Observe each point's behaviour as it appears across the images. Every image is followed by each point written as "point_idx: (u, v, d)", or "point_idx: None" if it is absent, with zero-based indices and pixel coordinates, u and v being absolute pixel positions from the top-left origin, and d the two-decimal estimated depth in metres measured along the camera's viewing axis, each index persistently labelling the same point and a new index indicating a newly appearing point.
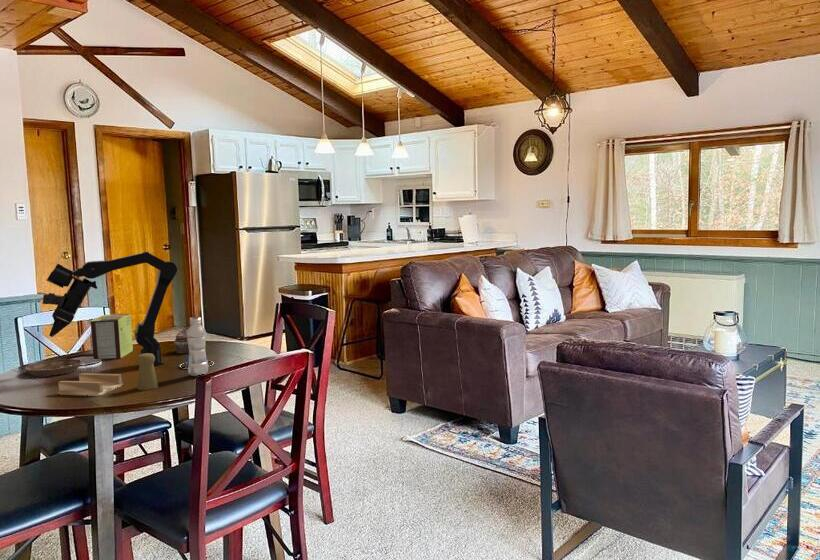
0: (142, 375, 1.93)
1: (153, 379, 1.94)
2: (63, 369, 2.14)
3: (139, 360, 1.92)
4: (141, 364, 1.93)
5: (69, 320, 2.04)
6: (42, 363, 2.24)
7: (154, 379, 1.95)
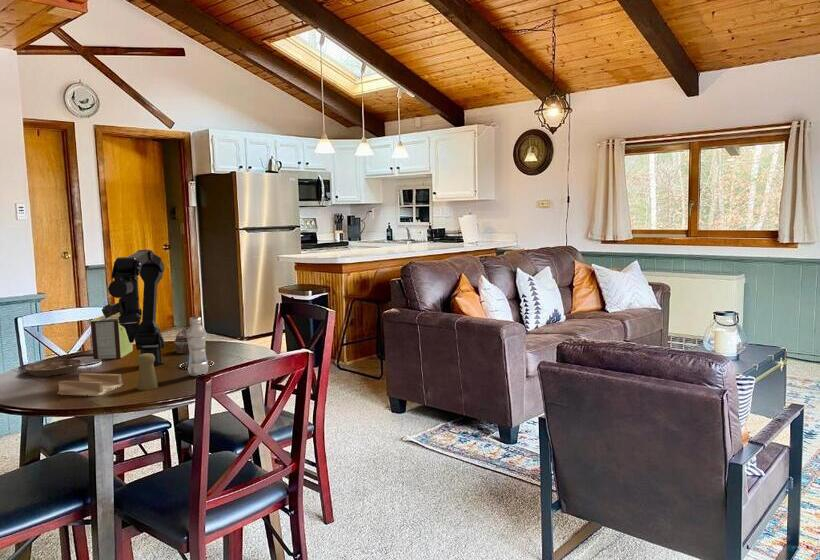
0: (142, 375, 1.93)
1: (153, 379, 1.94)
2: (63, 369, 2.14)
3: (139, 360, 1.92)
4: (141, 364, 1.93)
5: (137, 320, 1.98)
6: (42, 363, 2.24)
7: (154, 379, 1.95)
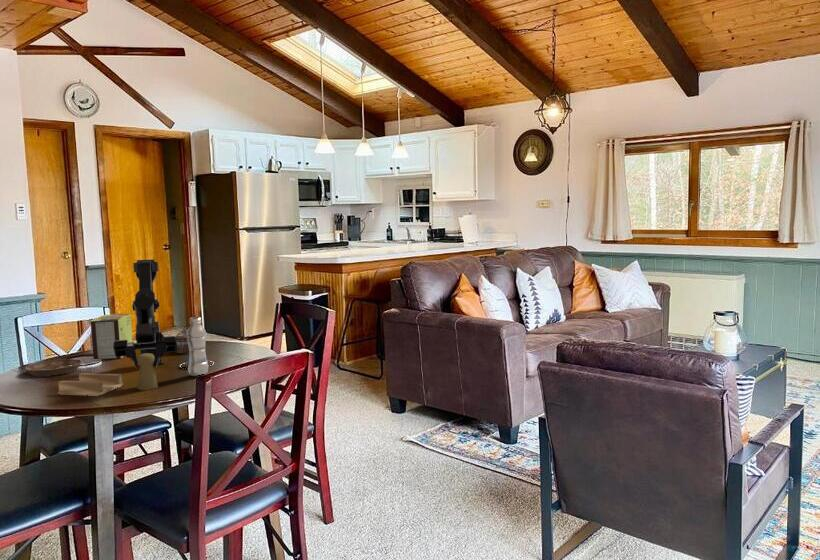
0: (142, 375, 1.93)
1: (153, 379, 1.94)
2: (63, 369, 2.14)
3: (139, 360, 1.92)
4: (141, 364, 1.93)
5: None
6: (42, 363, 2.24)
7: (154, 379, 1.95)
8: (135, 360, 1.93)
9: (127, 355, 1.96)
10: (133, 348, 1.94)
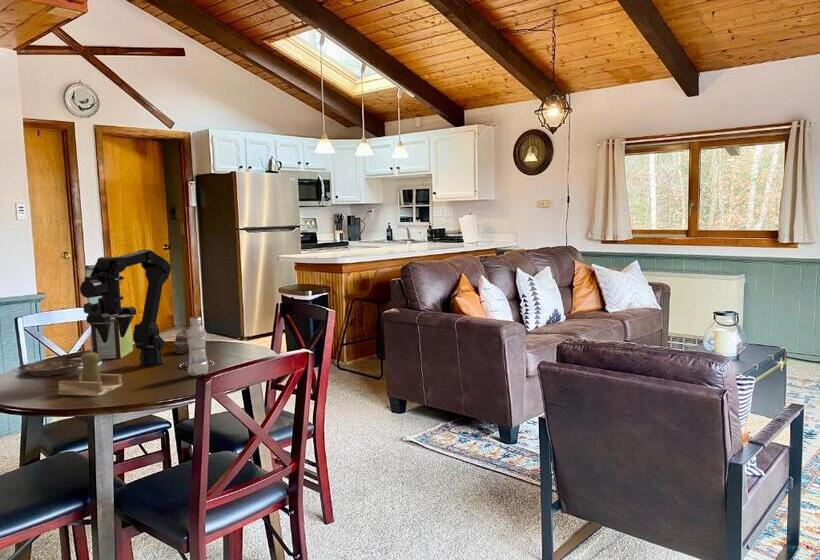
0: (82, 374, 1.92)
1: (92, 380, 1.92)
2: (63, 369, 2.14)
3: None
4: (82, 363, 1.92)
5: (100, 321, 1.98)
6: (42, 363, 2.24)
7: (94, 380, 1.92)
8: None
9: None
10: None
